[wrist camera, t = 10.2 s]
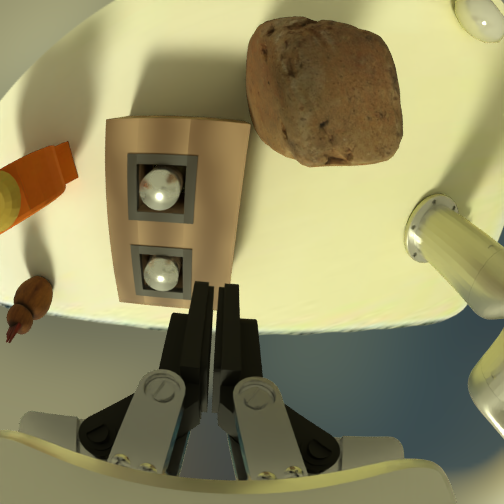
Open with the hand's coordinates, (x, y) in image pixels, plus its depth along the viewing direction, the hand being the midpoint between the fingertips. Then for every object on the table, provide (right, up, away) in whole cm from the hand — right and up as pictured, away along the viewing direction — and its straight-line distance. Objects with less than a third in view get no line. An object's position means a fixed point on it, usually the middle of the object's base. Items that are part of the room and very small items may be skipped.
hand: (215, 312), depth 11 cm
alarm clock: (-27, +13, +18) cm, 35 cm away
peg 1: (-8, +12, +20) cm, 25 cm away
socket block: (-8, +8, +23) cm, 26 cm away
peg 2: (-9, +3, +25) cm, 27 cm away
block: (+4, +21, +17) cm, 27 cm away
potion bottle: (+36, +43, +8) cm, 56 cm away
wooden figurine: (-36, -3, +27) cm, 45 cm away
